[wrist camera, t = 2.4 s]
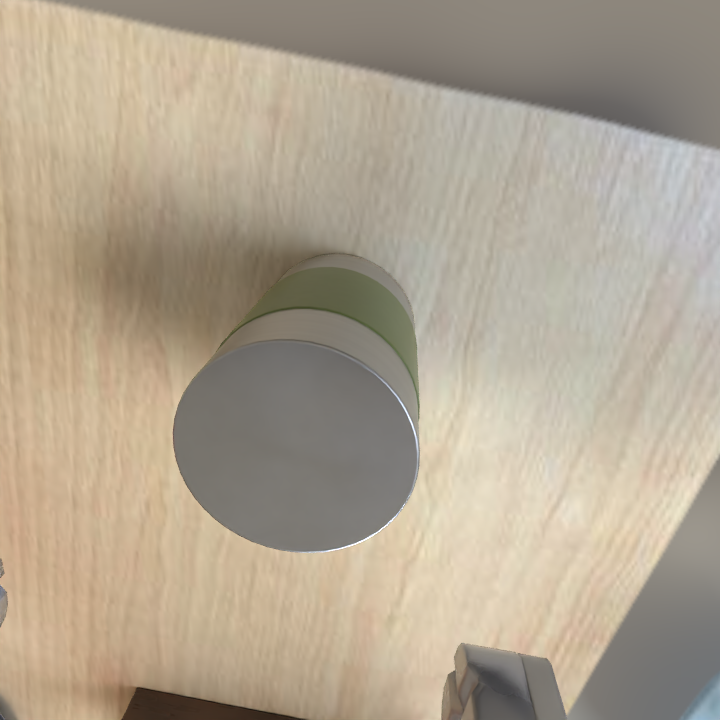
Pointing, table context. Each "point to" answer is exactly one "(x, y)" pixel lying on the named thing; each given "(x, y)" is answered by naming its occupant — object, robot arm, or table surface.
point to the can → (308, 411)
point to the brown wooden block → (187, 709)
